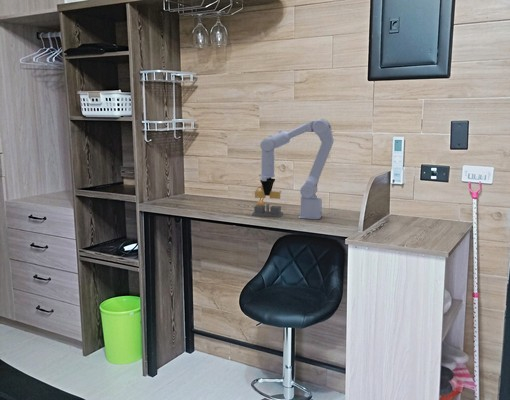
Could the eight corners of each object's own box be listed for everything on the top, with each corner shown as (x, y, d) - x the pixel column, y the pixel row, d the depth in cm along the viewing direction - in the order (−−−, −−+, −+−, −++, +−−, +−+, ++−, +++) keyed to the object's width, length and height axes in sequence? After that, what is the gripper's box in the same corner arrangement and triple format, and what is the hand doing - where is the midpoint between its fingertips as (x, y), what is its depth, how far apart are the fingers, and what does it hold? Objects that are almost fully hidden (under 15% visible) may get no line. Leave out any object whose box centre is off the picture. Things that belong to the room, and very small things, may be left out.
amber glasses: (257, 196, 241) (257, 189, 240) (281, 197, 238) (281, 190, 237) (254, 197, 237) (254, 191, 237) (279, 198, 234) (279, 192, 234)
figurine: (251, 208, 254) (251, 184, 252) (257, 206, 259) (257, 182, 257) (266, 209, 250) (266, 185, 248) (272, 207, 255) (272, 183, 253)
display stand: (256, 212, 243) (256, 202, 242) (283, 214, 239) (283, 203, 239) (251, 215, 236) (251, 205, 235) (279, 217, 233) (279, 206, 232)
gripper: (263, 163, 242) (263, 192, 244) (255, 166, 228) (255, 196, 230) (278, 163, 240) (277, 192, 242) (270, 167, 226) (270, 197, 228)
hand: (267, 194), depth 236 cm, fingers closed on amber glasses, 2 cm apart
